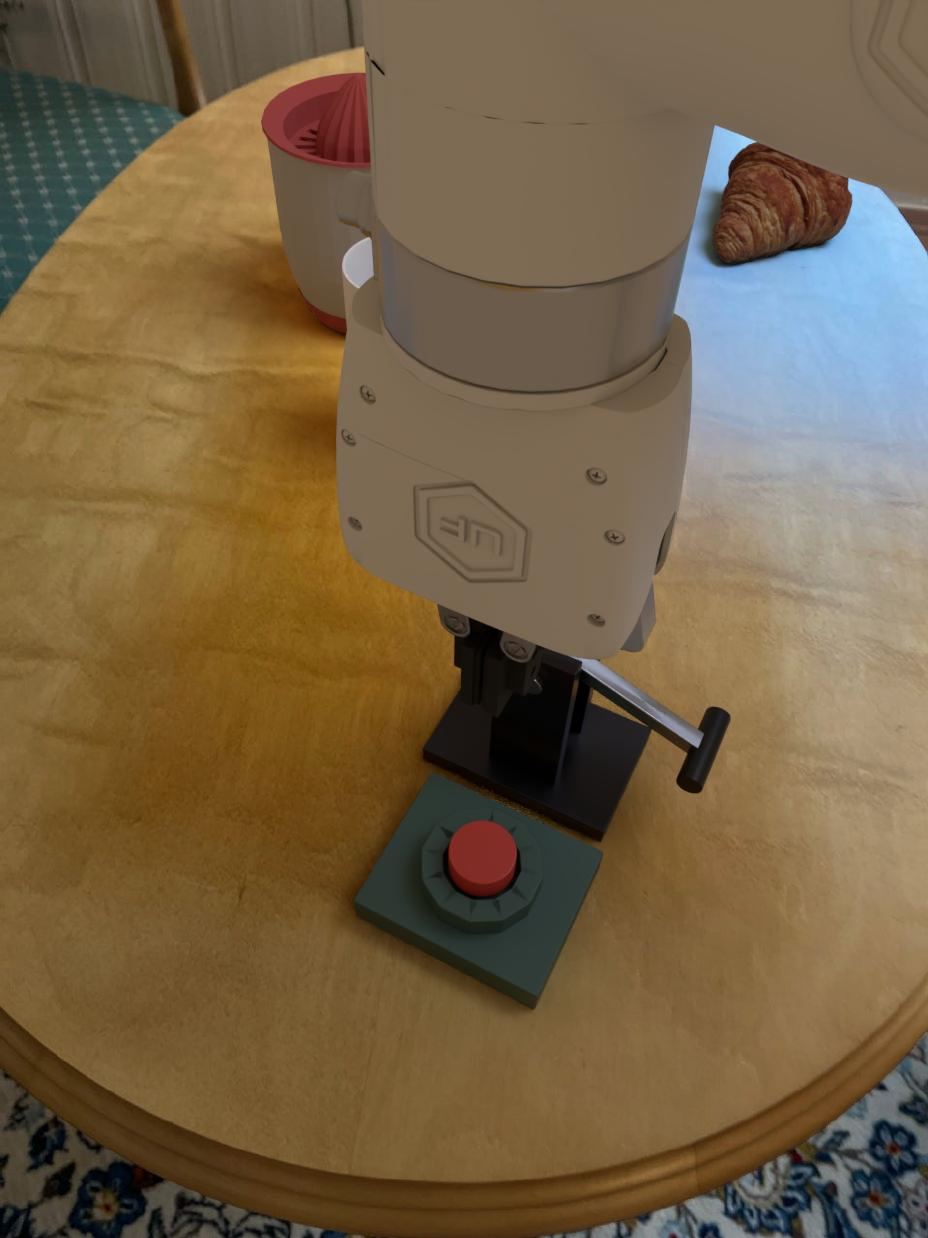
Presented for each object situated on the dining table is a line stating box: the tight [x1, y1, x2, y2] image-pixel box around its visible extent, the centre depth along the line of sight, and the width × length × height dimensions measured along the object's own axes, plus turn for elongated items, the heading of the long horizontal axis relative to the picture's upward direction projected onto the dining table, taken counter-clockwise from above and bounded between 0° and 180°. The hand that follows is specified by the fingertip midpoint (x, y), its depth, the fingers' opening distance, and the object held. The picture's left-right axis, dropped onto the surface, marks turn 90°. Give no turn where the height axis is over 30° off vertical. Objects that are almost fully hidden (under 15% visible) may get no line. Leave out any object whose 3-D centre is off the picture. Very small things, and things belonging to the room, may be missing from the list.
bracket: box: [422, 648, 652, 843], centre depth 56 cm, size 12×8×13 cm, turn 63°
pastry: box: [712, 141, 853, 265], centre depth 97 cm, size 17×15×8 cm
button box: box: [353, 771, 604, 1010], centre depth 54 cm, size 11×9×4 cm
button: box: [448, 821, 517, 897], centre depth 52 cm, size 4×4×2 cm
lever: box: [570, 656, 732, 795], centre depth 53 cm, size 12×5×2 cm, turn 63°
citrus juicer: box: [260, 72, 372, 334], centre depth 83 cm, size 16×17×20 cm
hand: (495, 682), depth 39 cm, fingers closed
